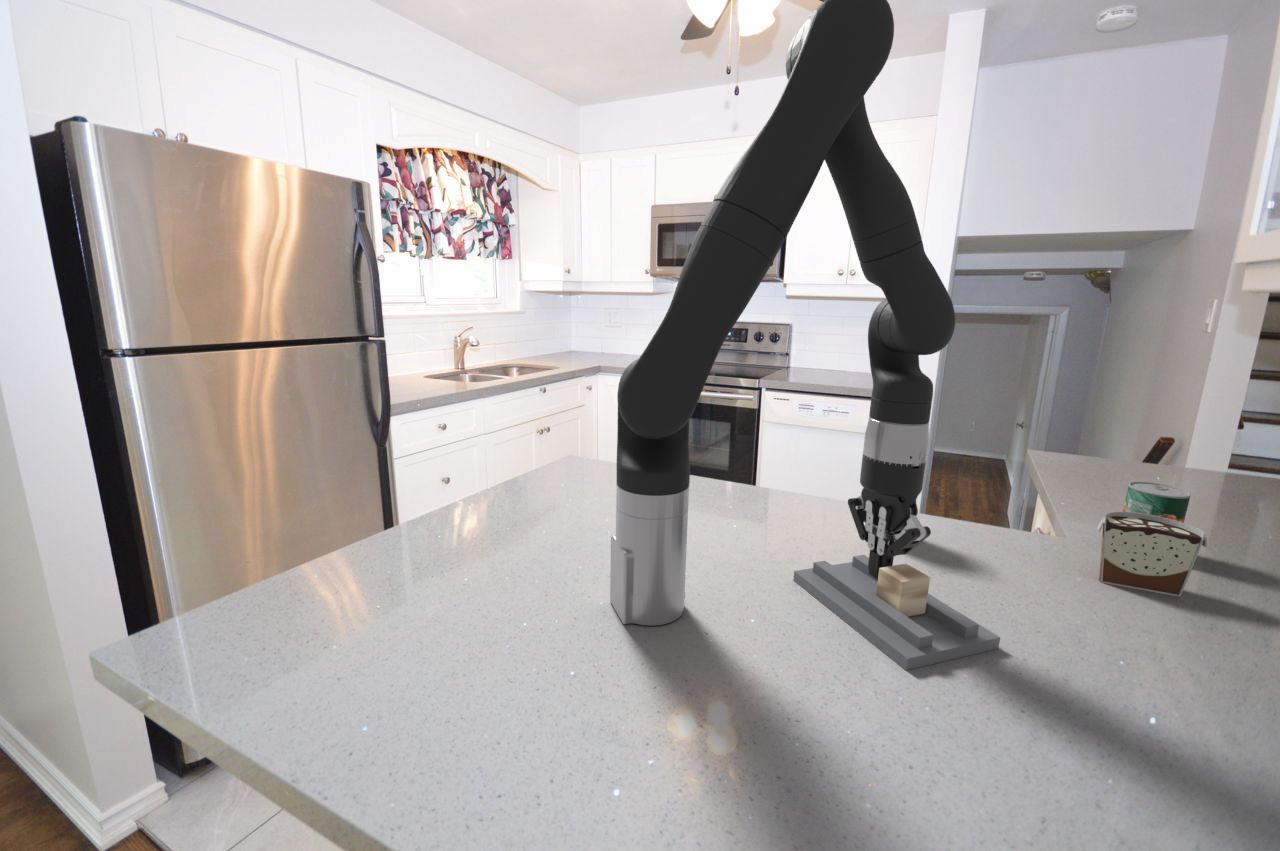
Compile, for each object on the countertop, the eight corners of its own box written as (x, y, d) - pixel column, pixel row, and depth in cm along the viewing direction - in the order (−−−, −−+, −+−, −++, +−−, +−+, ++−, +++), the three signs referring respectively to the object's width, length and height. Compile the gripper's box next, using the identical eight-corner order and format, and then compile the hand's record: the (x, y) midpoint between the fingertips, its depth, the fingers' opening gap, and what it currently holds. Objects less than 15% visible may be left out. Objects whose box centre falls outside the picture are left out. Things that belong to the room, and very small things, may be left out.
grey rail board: (793, 580, 85) (795, 561, 84) (870, 567, 89) (872, 550, 89) (905, 670, 64) (909, 646, 64) (998, 648, 69) (1002, 626, 68)
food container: (1176, 581, 87) (1191, 519, 85) (1194, 599, 82) (1210, 533, 80) (1077, 564, 92) (1089, 505, 90) (1088, 580, 87) (1101, 518, 85)
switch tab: (874, 602, 75) (879, 567, 74) (901, 597, 77) (906, 563, 76) (897, 618, 72) (902, 582, 71) (925, 613, 73) (930, 577, 72)
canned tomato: (1172, 564, 93) (1187, 500, 91) (1111, 548, 99) (1124, 487, 96) (1179, 551, 98) (1194, 490, 96) (1120, 536, 104) (1133, 478, 101)
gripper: (836, 443, 79) (824, 560, 82) (911, 470, 67) (893, 606, 70) (880, 439, 81) (866, 553, 85) (959, 465, 69) (940, 596, 73)
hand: (878, 577), depth 78 cm, fingers closed
